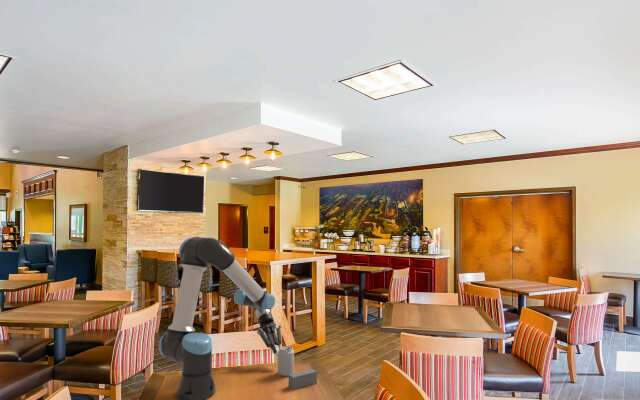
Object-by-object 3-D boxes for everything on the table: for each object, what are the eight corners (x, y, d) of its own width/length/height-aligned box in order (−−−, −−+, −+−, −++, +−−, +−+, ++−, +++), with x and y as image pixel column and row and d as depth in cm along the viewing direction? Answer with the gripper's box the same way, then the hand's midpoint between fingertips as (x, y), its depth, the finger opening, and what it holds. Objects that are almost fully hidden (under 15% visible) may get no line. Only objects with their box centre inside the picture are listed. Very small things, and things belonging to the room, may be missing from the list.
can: (293, 377, 181) (293, 350, 182) (276, 376, 181) (277, 350, 182) (294, 370, 189) (294, 345, 189) (279, 370, 189) (279, 345, 190)
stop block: (293, 389, 168) (293, 377, 168) (288, 386, 171) (288, 374, 171) (316, 383, 174) (316, 371, 175) (311, 380, 178) (311, 368, 178)
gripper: (273, 319, 211) (288, 360, 197) (250, 322, 204) (265, 365, 189) (278, 310, 207) (294, 352, 193) (255, 314, 200) (270, 357, 185)
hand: (279, 358), depth 191 cm, fingers closed
